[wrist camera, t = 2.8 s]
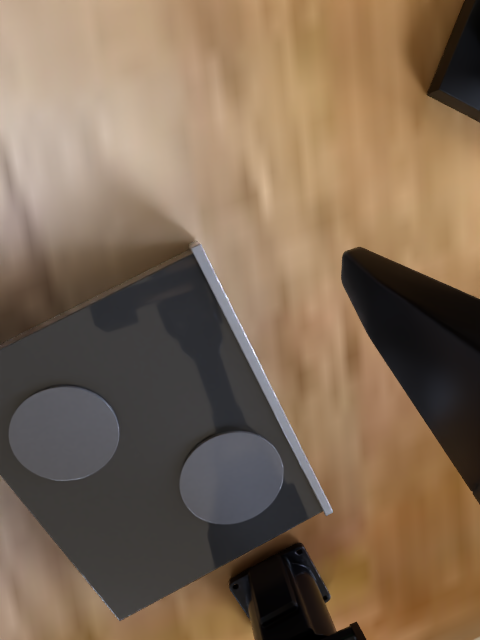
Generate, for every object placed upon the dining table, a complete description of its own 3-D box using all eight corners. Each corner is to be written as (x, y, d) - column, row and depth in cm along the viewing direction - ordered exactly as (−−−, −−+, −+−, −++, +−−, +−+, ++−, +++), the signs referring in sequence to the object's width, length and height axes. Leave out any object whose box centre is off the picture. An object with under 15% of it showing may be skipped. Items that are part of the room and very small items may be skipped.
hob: (319, 487, 31) (333, 512, 28) (125, 592, 30) (121, 628, 28) (196, 240, 25) (200, 243, 22) (-53, 364, 24) (-80, 383, 21)
